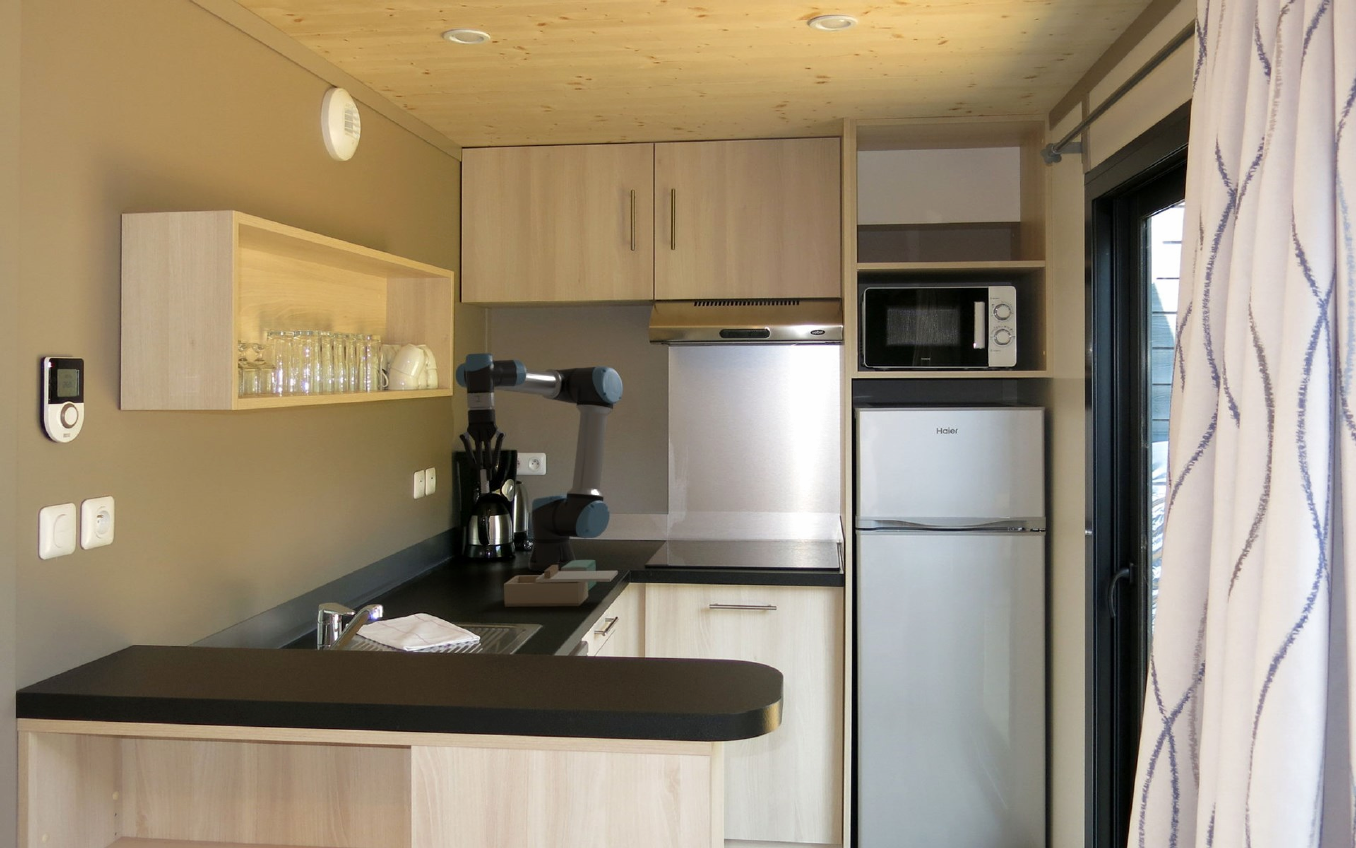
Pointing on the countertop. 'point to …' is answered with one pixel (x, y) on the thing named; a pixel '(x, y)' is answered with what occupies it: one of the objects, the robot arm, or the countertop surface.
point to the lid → (575, 575)
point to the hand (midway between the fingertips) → (485, 492)
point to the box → (581, 568)
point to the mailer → (543, 592)
